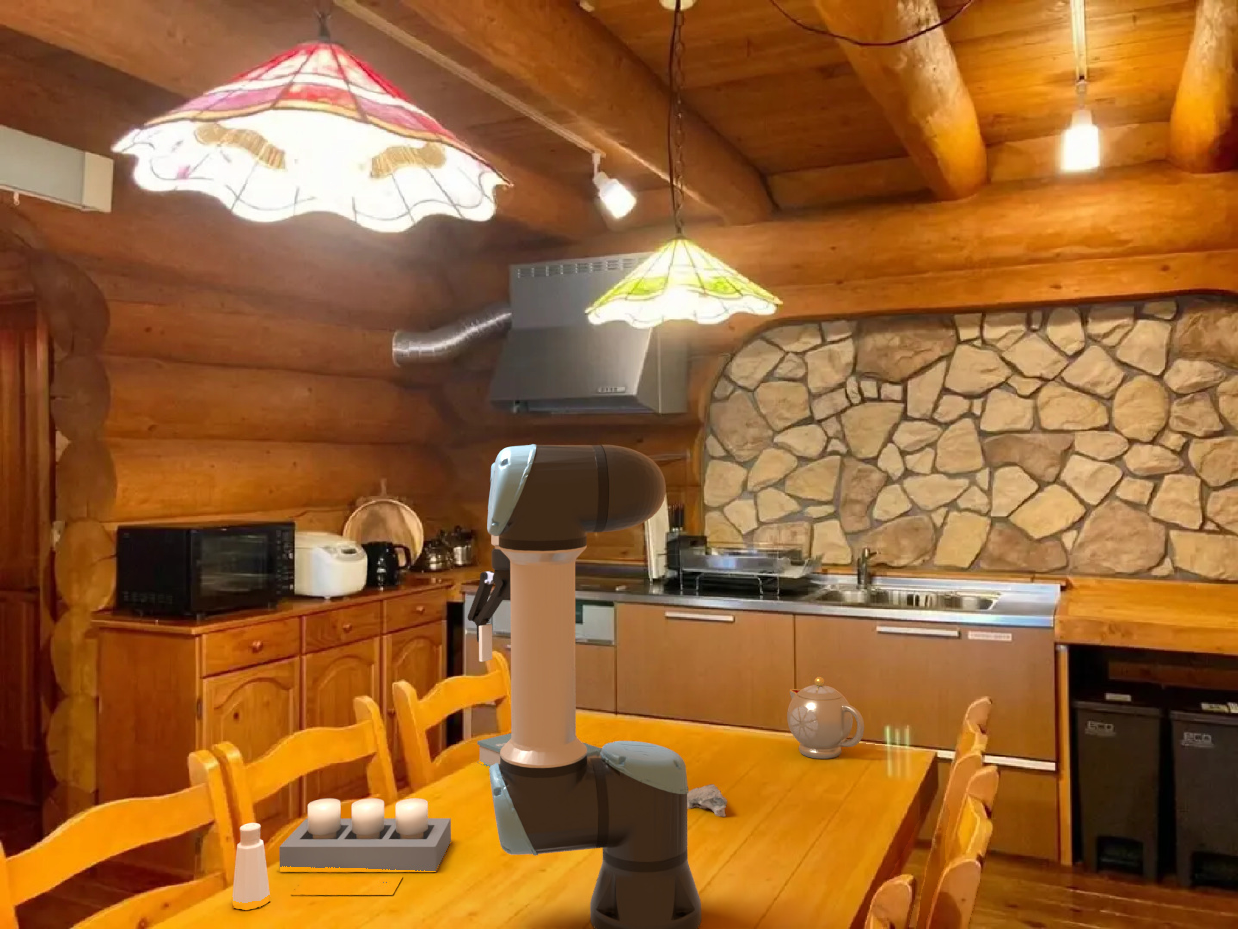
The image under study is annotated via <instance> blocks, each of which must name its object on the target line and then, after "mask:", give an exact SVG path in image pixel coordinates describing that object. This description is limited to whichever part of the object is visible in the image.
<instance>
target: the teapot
mask: <svg viewBox="0 0 1238 929" xmlns="http://www.w3.org/2000/svg"><path fill="white" fill-rule="evenodd" d="M789 694H790V698H791V700H790V702H789V705H788V709H787V714H786V715H787V717H786V718H787V724H788V728H789V730H790V732H791V734H792V736H793V738H794V739H795V740H796V741H797V742H798V743H800V744H799V745H798V746H799V747H798V750H799V752H800V754H801V755H803V756H804V757H807V758H811V759H818V760H828V759H834V758H837V757H839V756H840V755H841V753H842V748H853V747H854V746H856V745H858V744H859V743H860V742H861V740H862V738H863V736H864V731H865V723H864V718H863V716H862V714H861V712H860V711H859V710H858V709H857V708H855V707H854V706H853V705H851V704H850V703H849V701H848V700H847V698H846V697H845V696H844V695H843V694H842V693H841V692H840V691H838V690H837V689H836V688H834V687H832V686H828V685H825V679H824V678H823V677H821V676H817V677H816V678H815V679H814V684H812V685H808V686H806V687H803V688H802V689H796V688H792V689H791V688H790V689H789ZM853 718H854V719H855V721H856V732H855V735H854V736H853V737H852V738H850V739H847V738H848V737H849V735H850V733H851V732H852V728H853V722H854V721H853V720H854V719H853Z"/></svg>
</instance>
